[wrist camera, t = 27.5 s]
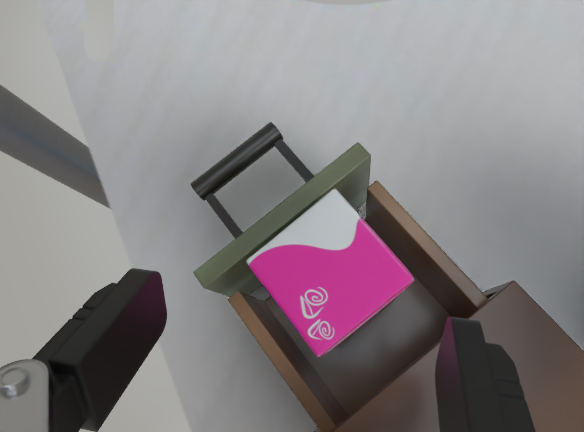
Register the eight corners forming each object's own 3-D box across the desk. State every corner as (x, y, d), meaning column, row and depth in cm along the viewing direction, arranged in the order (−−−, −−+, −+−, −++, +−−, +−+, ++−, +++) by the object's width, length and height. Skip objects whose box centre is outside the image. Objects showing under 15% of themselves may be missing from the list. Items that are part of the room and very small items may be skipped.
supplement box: (281, 285, 31) (240, 257, 20) (345, 234, 32) (338, 179, 21) (332, 352, 30) (317, 359, 19) (399, 297, 30) (422, 274, 19)
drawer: (188, 227, 35) (138, 194, 27) (308, 133, 36) (294, 74, 28) (366, 475, 28) (369, 527, 20) (509, 353, 29) (566, 358, 21)
